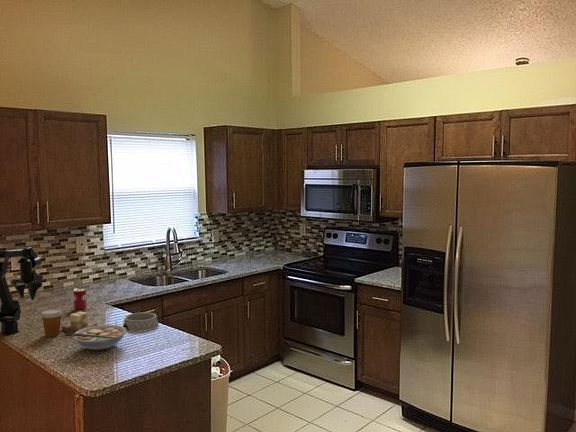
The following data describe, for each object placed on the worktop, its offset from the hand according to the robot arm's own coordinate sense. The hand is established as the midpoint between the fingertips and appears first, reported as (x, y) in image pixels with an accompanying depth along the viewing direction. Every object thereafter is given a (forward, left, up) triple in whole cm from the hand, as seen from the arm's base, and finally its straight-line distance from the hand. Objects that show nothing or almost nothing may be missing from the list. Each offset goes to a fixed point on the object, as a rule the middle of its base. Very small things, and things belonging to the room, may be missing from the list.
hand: (27, 298), depth 263 cm
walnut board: (+7, -33, -13) cm, 36 cm away
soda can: (+30, -3, -13) cm, 33 cm away
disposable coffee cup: (-6, -29, -13) cm, 33 cm away
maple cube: (+7, -33, -11) cm, 35 cm away
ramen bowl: (-6, -65, -13) cm, 66 cm away
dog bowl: (+27, -56, -14) cm, 64 cm away
